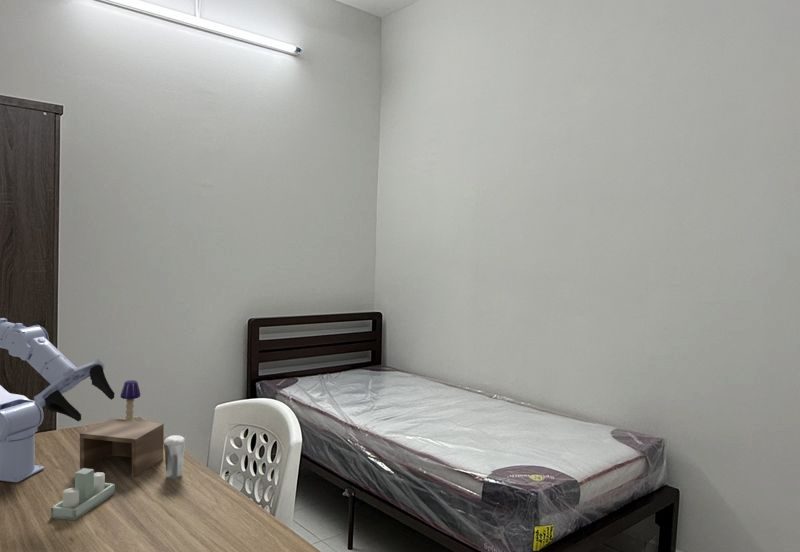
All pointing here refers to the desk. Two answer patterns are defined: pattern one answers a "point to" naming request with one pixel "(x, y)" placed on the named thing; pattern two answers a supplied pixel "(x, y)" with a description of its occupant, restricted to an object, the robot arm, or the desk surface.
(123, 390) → the toy lamp
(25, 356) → the robot arm
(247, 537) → the desk surface
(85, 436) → the brown open box
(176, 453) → the milkshake
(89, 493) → the caddy
